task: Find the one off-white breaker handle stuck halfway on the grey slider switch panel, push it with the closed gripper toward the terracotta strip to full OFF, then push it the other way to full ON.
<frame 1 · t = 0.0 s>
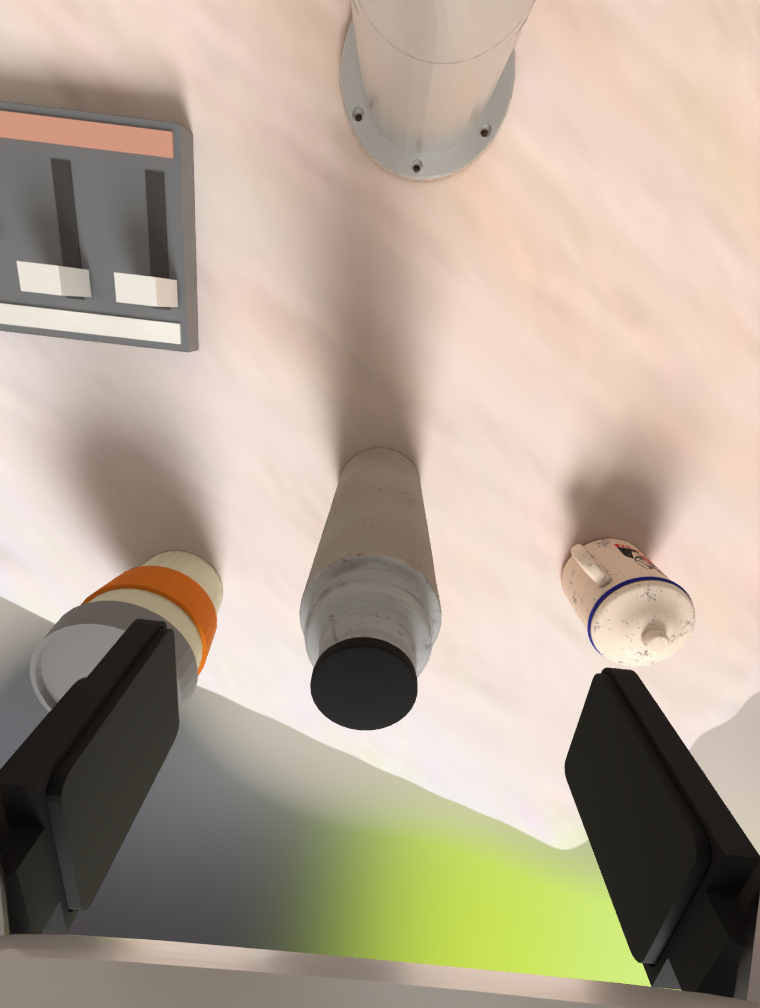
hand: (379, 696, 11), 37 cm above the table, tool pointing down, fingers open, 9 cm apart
grey slider switch panel: (45, 232, 40), on the table
thermos bottle: (379, 486, 48), on the table
teacup with lid: (593, 564, 51), on the table
reusable coffee cup: (182, 586, 53), on the table
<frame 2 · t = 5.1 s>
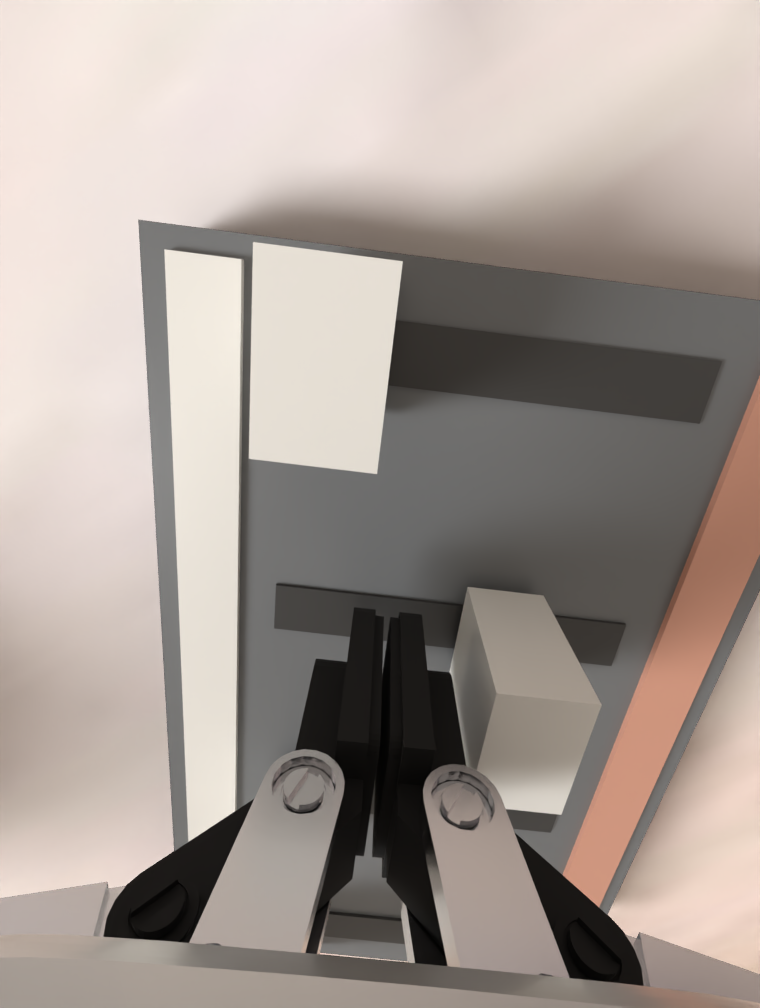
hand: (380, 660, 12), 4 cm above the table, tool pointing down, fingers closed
grey slider switch panel: (423, 664, 17), on the table
tripped breaker handle: (509, 688, 11), point 5 cm above the table, slide at -1.2 cm, touching gripper
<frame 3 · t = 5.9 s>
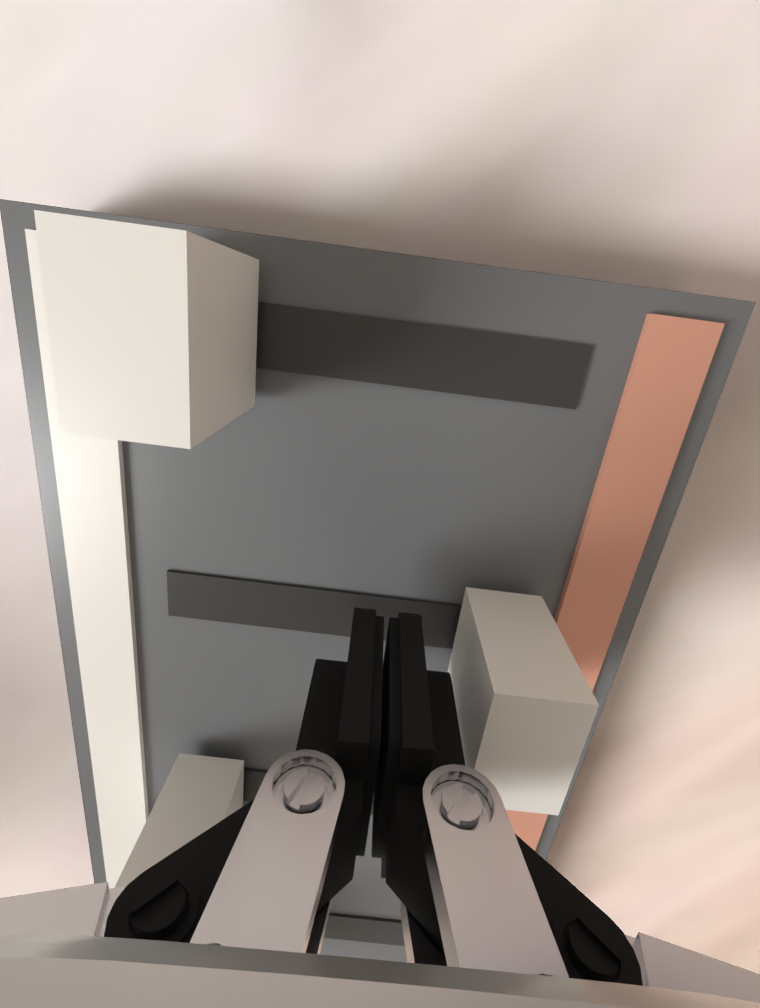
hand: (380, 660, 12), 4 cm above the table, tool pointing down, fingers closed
grey slider switch panel: (339, 656, 17), on the table
tripped breaker handle: (507, 689, 11), point 5 cm above the table, slide at -4.1 cm, touching gripper
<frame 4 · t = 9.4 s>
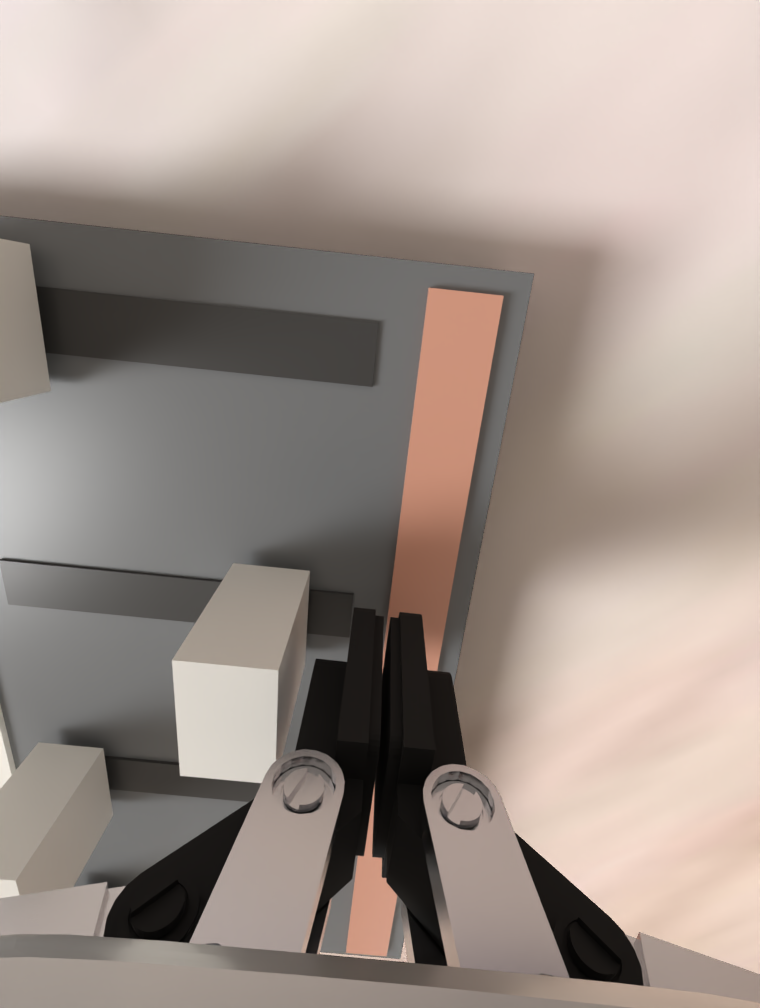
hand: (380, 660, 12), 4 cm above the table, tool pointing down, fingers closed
grey slider switch panel: (213, 644, 17), on the table
tripped breaker handle: (252, 662, 11), point 5 cm above the table, slide at -2.6 cm, touching gripper
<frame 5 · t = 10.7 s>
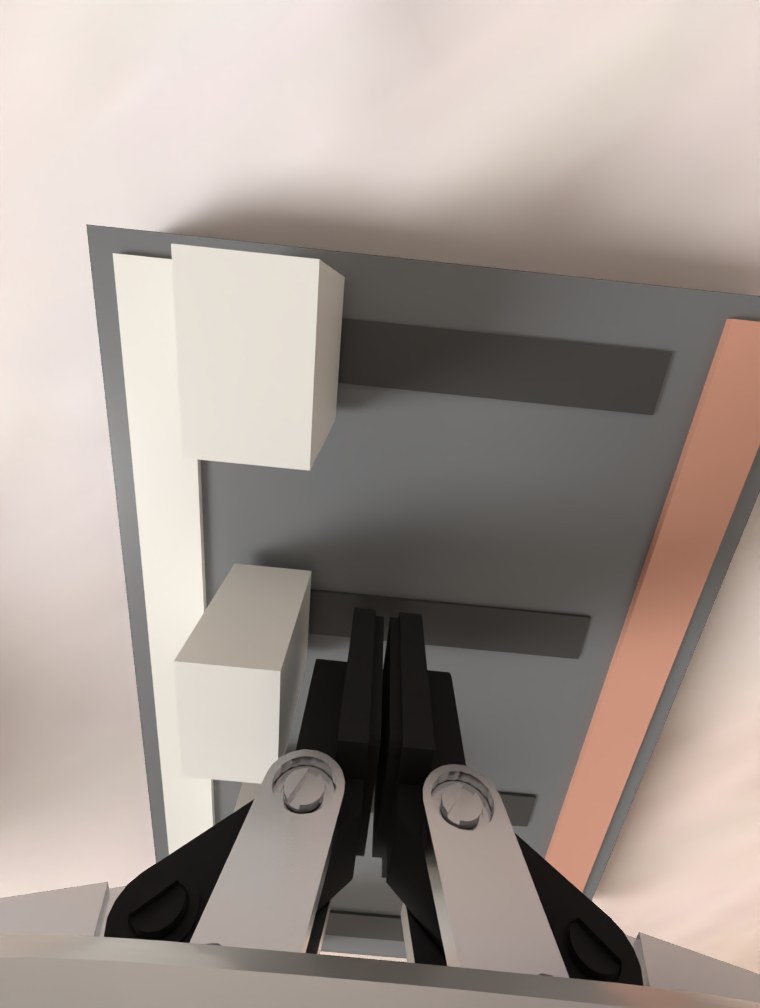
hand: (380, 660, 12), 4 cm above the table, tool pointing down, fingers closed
grey slider switch panel: (398, 661, 17), on the table
tripped breaker handle: (253, 662, 11), point 5 cm above the table, slide at 3.9 cm, touching gripper
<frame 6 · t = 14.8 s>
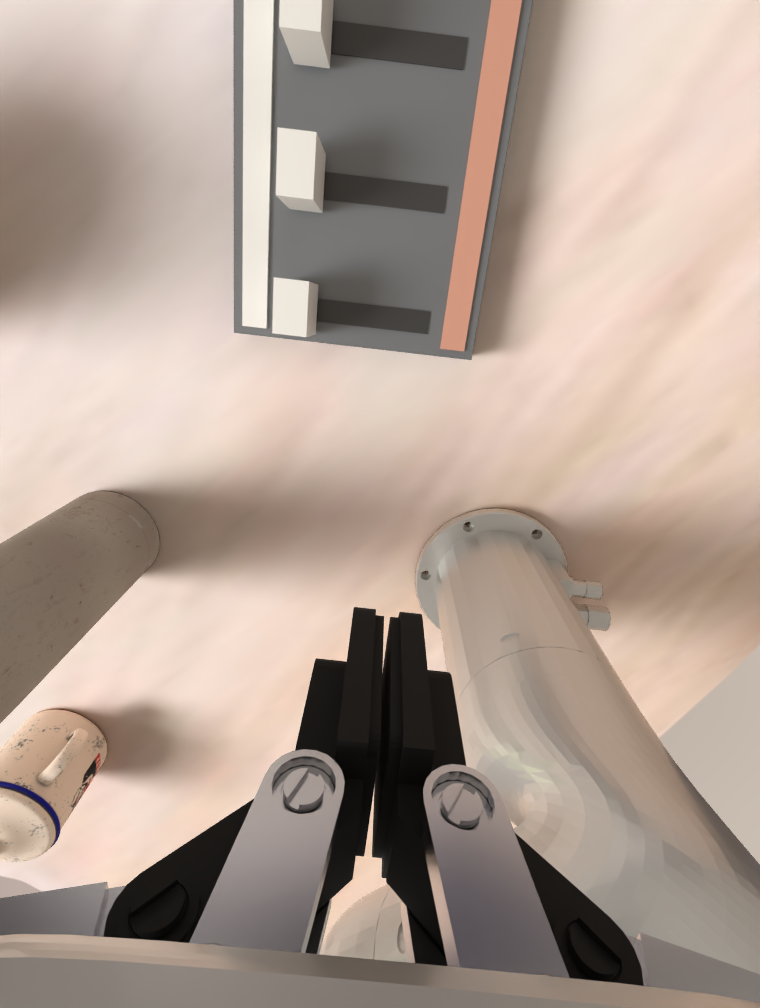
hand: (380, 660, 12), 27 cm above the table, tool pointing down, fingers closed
grey slider switch panel: (373, 135, 31), on the table
thermos bottle: (114, 533, 41), on the table
teacup with lid: (75, 731, 50), on the table
tripped breaker handle: (307, 11, 25), point 5 cm above the table, slide at 3.6 cm
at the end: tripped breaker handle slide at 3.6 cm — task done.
